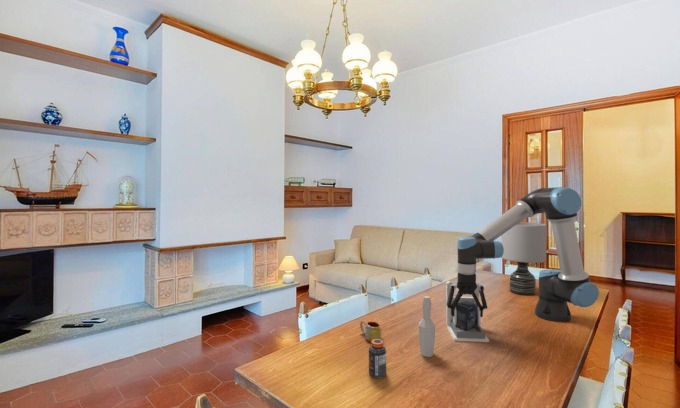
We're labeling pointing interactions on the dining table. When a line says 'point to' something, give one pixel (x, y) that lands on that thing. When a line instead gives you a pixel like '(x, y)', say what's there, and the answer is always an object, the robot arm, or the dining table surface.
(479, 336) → the white l-bracket
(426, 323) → the low poly bottle
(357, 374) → the dining table surface
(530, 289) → the lamp
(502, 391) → the dining table surface
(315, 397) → the dining table surface
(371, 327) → the mug
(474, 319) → the box
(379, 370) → the pill bottle
